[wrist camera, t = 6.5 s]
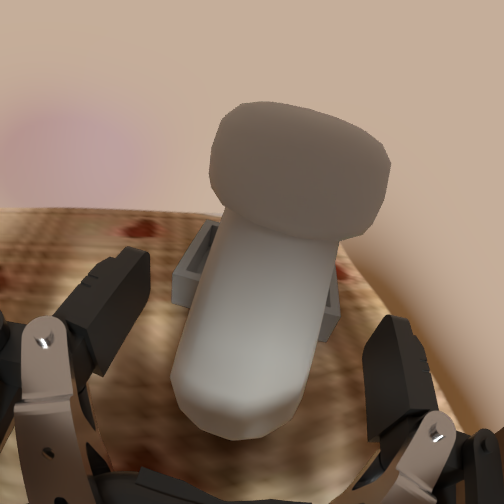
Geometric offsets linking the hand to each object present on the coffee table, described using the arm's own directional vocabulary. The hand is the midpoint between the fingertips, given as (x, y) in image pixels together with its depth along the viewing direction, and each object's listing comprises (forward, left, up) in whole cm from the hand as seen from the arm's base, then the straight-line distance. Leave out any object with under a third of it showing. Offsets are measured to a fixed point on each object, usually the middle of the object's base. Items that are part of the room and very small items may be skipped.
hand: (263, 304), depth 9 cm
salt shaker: (0, 0, -7) cm, 7 cm away
